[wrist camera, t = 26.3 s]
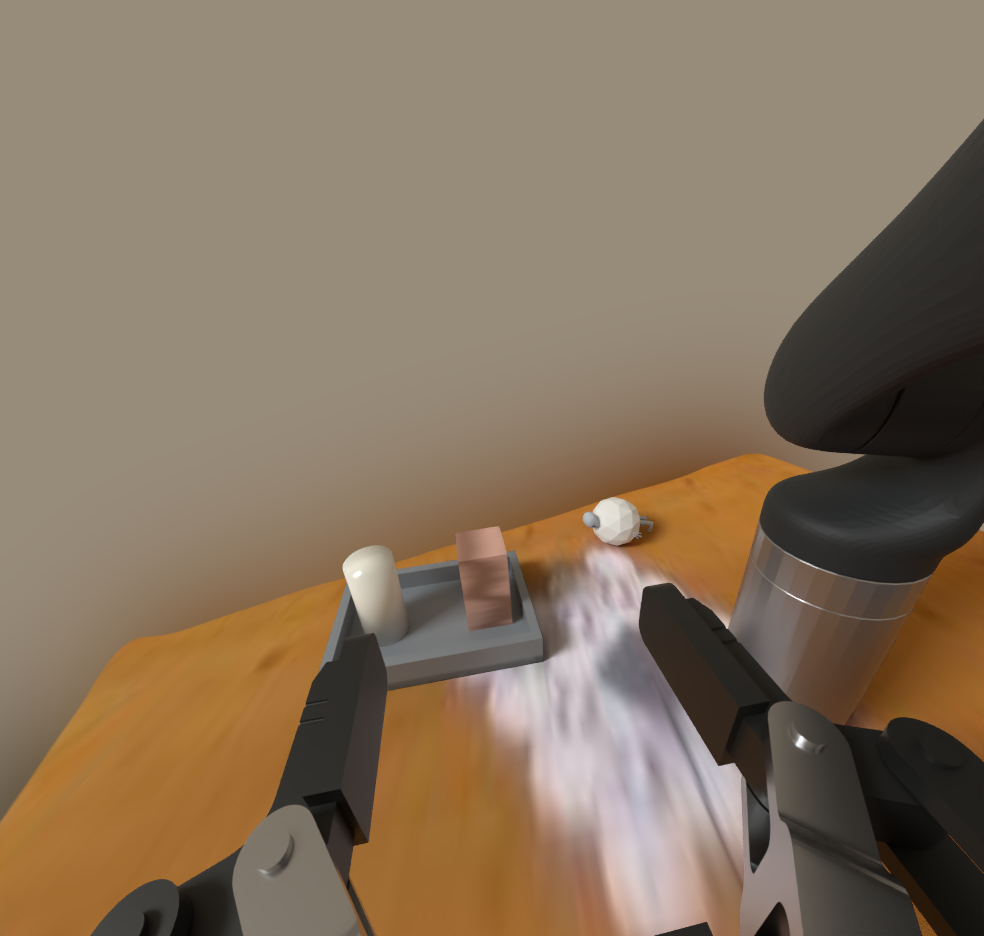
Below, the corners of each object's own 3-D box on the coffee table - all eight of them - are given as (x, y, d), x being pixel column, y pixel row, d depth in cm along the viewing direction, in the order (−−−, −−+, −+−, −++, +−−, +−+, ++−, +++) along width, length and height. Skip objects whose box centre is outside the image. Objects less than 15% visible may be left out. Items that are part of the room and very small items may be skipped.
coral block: (505, 591, 46) (499, 526, 41) (512, 623, 41) (506, 554, 37) (465, 598, 45) (455, 532, 41) (469, 631, 41) (458, 562, 36)
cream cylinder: (410, 608, 45) (394, 542, 40) (408, 642, 40) (389, 573, 36) (369, 614, 44) (348, 549, 40) (362, 650, 40) (337, 581, 35)
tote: (516, 570, 50) (515, 550, 49) (543, 661, 38) (542, 638, 36) (355, 597, 48) (348, 577, 47) (326, 702, 36) (316, 679, 34)
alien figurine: (624, 529, 60) (563, 526, 56) (640, 491, 58) (579, 485, 53) (655, 556, 54) (590, 555, 49) (675, 515, 51) (609, 510, 47)
